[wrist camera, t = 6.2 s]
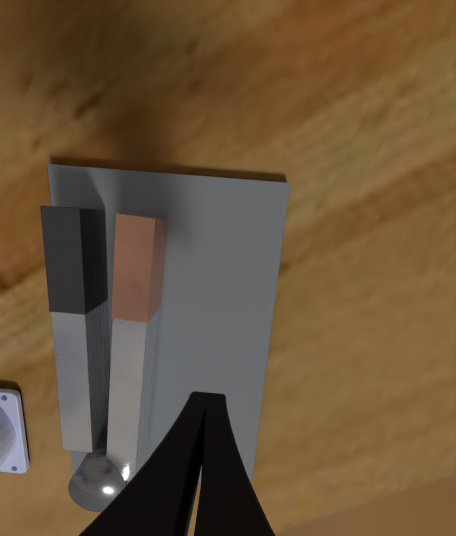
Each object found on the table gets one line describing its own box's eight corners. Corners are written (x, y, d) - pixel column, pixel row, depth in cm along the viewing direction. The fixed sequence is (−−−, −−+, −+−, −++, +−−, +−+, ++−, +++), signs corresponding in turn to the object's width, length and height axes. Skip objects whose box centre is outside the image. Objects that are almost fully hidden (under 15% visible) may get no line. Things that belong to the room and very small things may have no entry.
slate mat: (250, 480, 20) (250, 488, 20) (76, 462, 21) (72, 469, 20) (287, 184, 15) (289, 182, 15) (55, 166, 15) (47, 163, 15)
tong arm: (145, 470, 19) (129, 517, 16) (94, 462, 19) (68, 507, 16) (168, 218, 15) (151, 219, 12) (101, 208, 15) (68, 206, 12)
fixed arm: (111, 421, 18) (92, 453, 16) (85, 419, 18) (62, 450, 16) (105, 210, 15) (79, 208, 13) (72, 207, 15) (40, 205, 13)
